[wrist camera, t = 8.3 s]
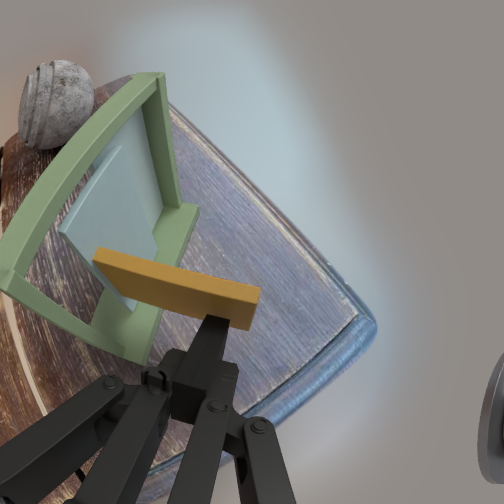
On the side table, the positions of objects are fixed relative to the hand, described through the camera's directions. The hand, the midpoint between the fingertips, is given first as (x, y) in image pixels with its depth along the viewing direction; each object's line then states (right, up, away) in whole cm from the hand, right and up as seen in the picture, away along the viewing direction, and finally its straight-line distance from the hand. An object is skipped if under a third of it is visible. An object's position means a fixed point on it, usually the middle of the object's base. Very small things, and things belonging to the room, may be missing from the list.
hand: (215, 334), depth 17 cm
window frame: (-8, +3, +9) cm, 13 cm away
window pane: (-3, +2, +7) cm, 7 cm away
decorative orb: (-29, +25, +20) cm, 43 cm away
